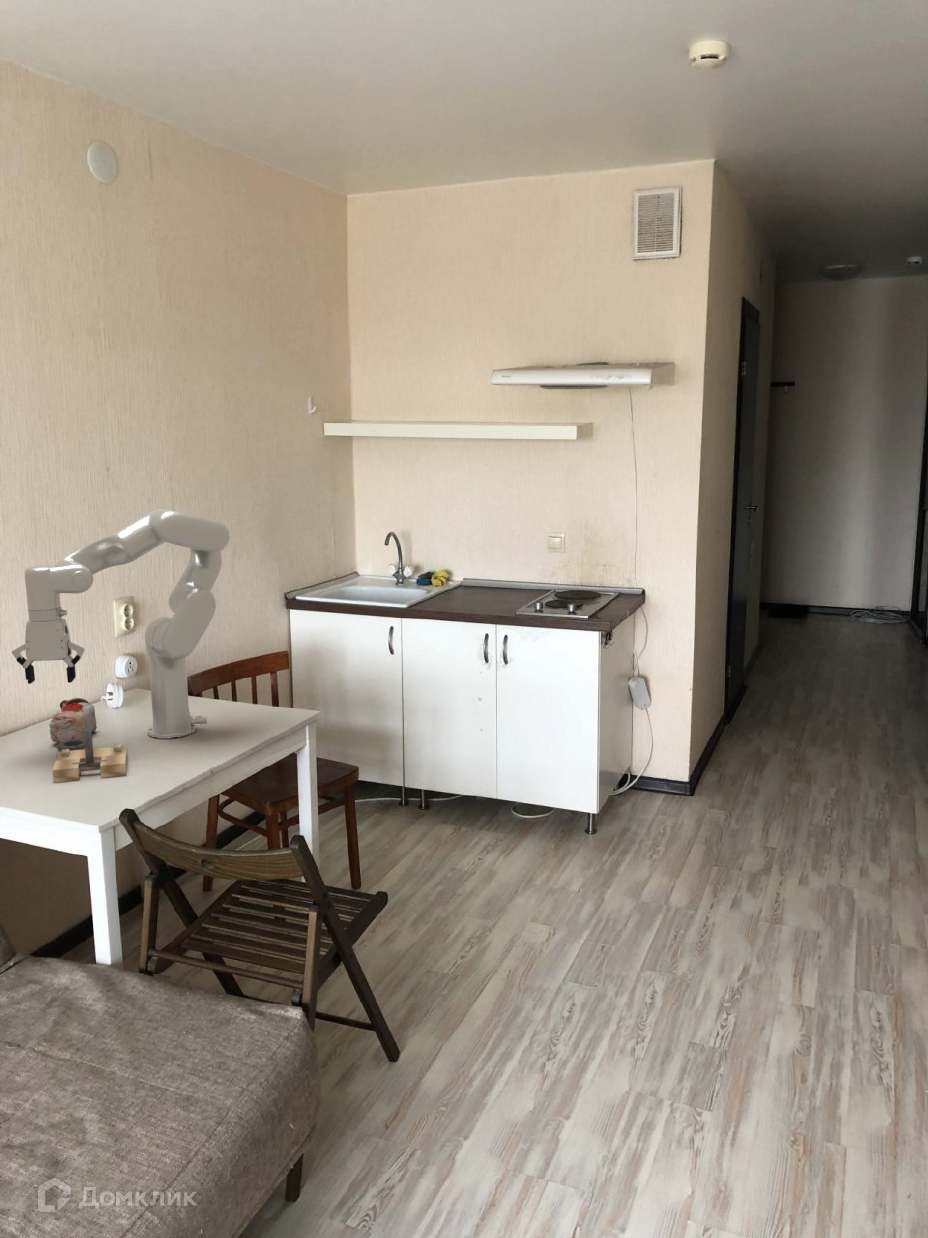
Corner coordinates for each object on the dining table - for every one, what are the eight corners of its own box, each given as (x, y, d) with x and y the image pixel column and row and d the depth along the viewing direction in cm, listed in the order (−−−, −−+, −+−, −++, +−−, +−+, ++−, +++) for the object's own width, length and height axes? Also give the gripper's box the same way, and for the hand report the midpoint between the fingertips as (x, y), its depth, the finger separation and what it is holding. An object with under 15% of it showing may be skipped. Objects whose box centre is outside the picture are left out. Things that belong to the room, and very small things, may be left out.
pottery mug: (105, 721, 281) (99, 701, 275) (81, 743, 275) (74, 723, 269) (74, 706, 285) (67, 686, 279) (49, 727, 279) (41, 707, 273)
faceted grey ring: (90, 748, 255) (89, 737, 255) (88, 757, 248) (87, 746, 248) (60, 751, 253) (59, 740, 252) (57, 760, 246) (56, 749, 246)
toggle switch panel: (127, 756, 249) (124, 714, 247) (125, 775, 236) (122, 731, 233) (59, 763, 244) (55, 720, 242) (53, 782, 231) (49, 737, 229)
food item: (78, 747, 257) (75, 710, 255) (48, 747, 257) (45, 710, 255) (99, 731, 270) (97, 696, 268) (71, 731, 270) (68, 696, 269)
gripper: (85, 611, 249) (90, 677, 253) (14, 613, 248) (21, 679, 251) (76, 617, 242) (82, 684, 245) (3, 619, 240) (10, 686, 244)
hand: (51, 681), depth 248 cm, fingers open, 9 cm apart
